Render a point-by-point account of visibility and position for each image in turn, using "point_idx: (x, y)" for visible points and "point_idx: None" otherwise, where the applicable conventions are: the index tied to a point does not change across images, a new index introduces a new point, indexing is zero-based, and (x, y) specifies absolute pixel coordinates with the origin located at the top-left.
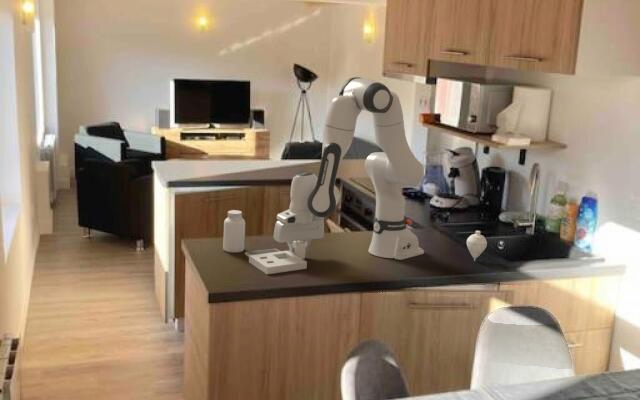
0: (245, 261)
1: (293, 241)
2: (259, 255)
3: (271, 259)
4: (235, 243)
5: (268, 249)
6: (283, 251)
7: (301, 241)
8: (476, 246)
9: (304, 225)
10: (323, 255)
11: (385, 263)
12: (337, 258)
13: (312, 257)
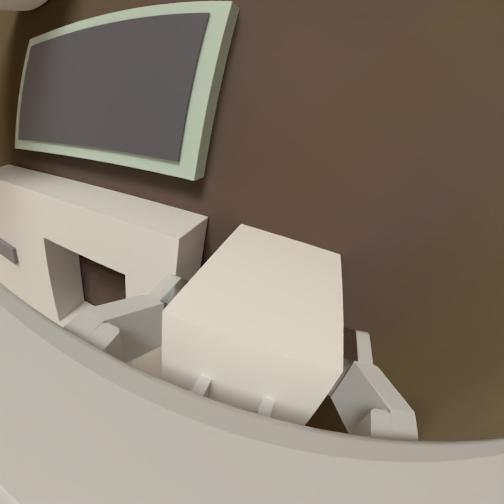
0: (5, 148)
1: (185, 342)
2: (2, 202)
3: (30, 292)
4: None
5: (147, 17)
6: (129, 234)
7: (291, 408)
8: None
9: None
10: (457, 361)
11: None
12: (444, 420)
13: (372, 350)
